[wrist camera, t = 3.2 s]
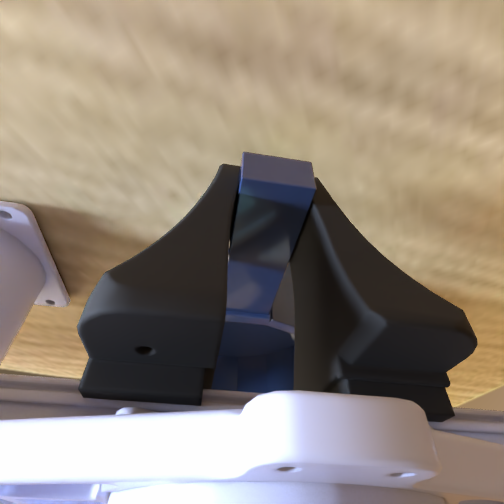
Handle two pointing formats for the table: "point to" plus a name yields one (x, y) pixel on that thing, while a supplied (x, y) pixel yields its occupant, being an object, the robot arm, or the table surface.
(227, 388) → the blue measuring scoop
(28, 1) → the table surface
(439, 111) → the table surface
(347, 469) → the robot arm
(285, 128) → the table surface
